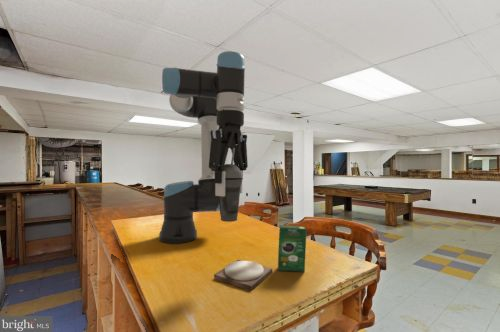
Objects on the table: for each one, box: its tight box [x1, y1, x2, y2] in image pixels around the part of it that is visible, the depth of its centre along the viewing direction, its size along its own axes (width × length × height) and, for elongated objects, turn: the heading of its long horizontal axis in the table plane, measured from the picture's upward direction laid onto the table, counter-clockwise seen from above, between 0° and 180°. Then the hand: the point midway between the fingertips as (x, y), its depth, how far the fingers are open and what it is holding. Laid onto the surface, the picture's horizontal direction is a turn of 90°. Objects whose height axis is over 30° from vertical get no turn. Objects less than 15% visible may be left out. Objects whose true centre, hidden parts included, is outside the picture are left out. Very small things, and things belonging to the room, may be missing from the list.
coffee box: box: [277, 225, 307, 273], centre depth 75 cm, size 8×3×13 cm, turn 87°
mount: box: [213, 259, 273, 292], centre depth 71 cm, size 12×12×2 cm
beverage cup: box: [219, 148, 244, 223], centre depth 69 cm, size 7×7×20 cm
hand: (229, 194), depth 69 cm, fingers closed on beverage cup, 7 cm apart
